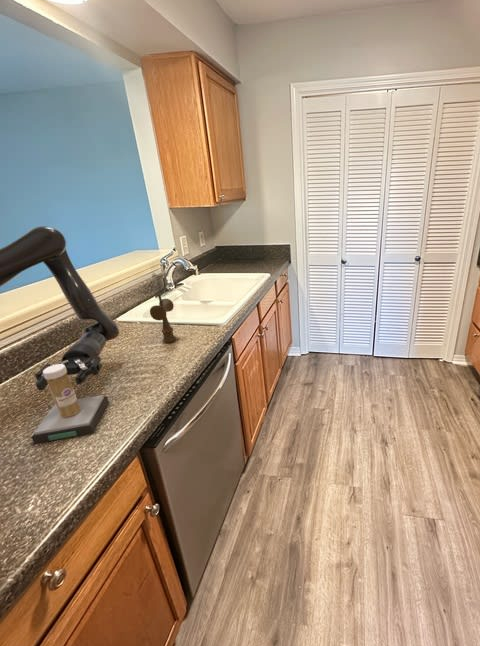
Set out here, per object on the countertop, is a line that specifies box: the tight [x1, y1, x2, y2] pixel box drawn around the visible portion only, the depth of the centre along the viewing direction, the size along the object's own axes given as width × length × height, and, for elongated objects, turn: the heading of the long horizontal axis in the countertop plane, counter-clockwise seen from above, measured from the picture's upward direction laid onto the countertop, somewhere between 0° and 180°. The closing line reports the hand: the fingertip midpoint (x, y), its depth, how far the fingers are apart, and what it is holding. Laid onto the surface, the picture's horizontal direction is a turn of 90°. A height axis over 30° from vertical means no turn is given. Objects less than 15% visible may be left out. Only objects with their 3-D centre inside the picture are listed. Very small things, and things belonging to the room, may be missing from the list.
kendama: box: [149, 292, 177, 343], centre depth 125 cm, size 6×10×20 cm, turn 1°
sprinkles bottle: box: [43, 363, 81, 418], centre depth 81 cm, size 5×5×14 cm
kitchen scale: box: [31, 394, 110, 445], centre depth 85 cm, size 13×13×3 cm
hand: (58, 384), depth 80 cm, fingers open, 8 cm apart
